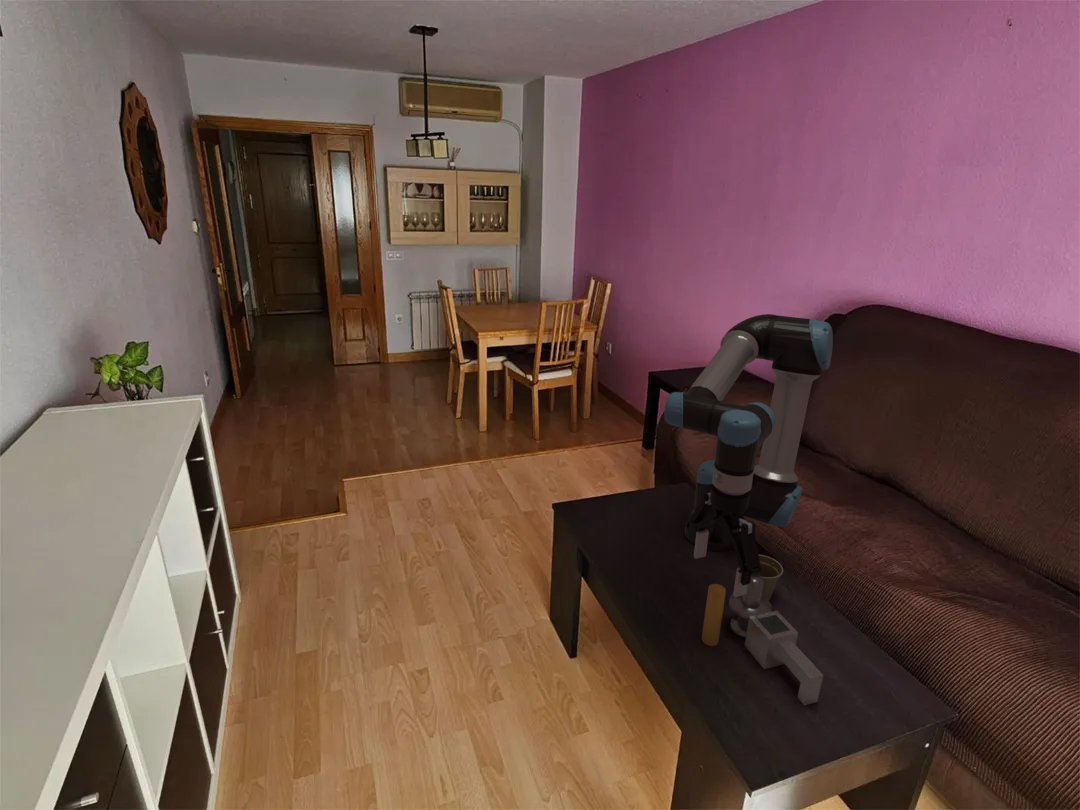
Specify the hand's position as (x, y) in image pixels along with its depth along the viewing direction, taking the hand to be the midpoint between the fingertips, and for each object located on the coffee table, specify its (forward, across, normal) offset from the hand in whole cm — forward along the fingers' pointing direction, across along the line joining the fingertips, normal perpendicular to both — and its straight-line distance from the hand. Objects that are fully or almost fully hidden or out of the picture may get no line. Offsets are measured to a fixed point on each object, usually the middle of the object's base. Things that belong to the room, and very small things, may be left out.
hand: (718, 574), depth 125 cm
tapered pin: (+18, 0, 0) cm, 18 cm away
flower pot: (+18, -9, +21) cm, 29 cm away
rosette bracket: (+18, +8, +10) cm, 22 cm away
